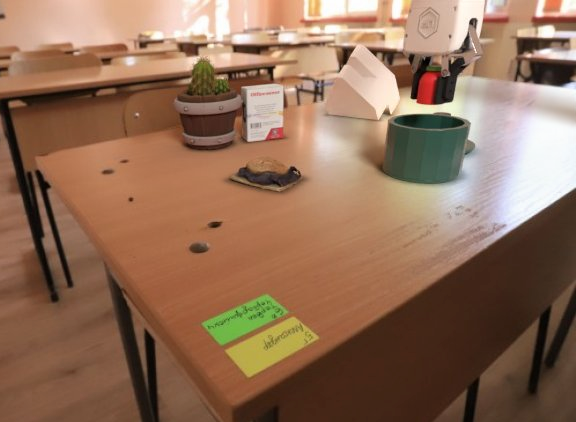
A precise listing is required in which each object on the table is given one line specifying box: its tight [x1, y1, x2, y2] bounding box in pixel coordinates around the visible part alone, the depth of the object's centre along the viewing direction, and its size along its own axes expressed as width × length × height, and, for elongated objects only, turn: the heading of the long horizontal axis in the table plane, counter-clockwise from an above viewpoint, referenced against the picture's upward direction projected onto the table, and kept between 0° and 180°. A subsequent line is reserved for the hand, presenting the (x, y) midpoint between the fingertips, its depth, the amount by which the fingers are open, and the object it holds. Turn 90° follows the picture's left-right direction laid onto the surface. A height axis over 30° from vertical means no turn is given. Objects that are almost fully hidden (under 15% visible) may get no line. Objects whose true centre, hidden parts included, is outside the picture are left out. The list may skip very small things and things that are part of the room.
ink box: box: [240, 83, 285, 143], centre depth 94 cm, size 9×5×12 cm, turn 100°
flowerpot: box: [172, 55, 243, 151], centre depth 90 cm, size 14×15×20 cm
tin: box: [382, 113, 472, 184], centre depth 69 cm, size 12×12×8 cm
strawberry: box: [415, 64, 445, 106], centre depth 65 cm, size 4×4×6 cm
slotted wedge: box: [324, 44, 401, 121], centre depth 107 cm, size 14×11×18 cm
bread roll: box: [229, 156, 304, 193], centre depth 71 cm, size 11×8×4 cm
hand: (431, 99), depth 66 cm, fingers closed on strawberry, 4 cm apart
